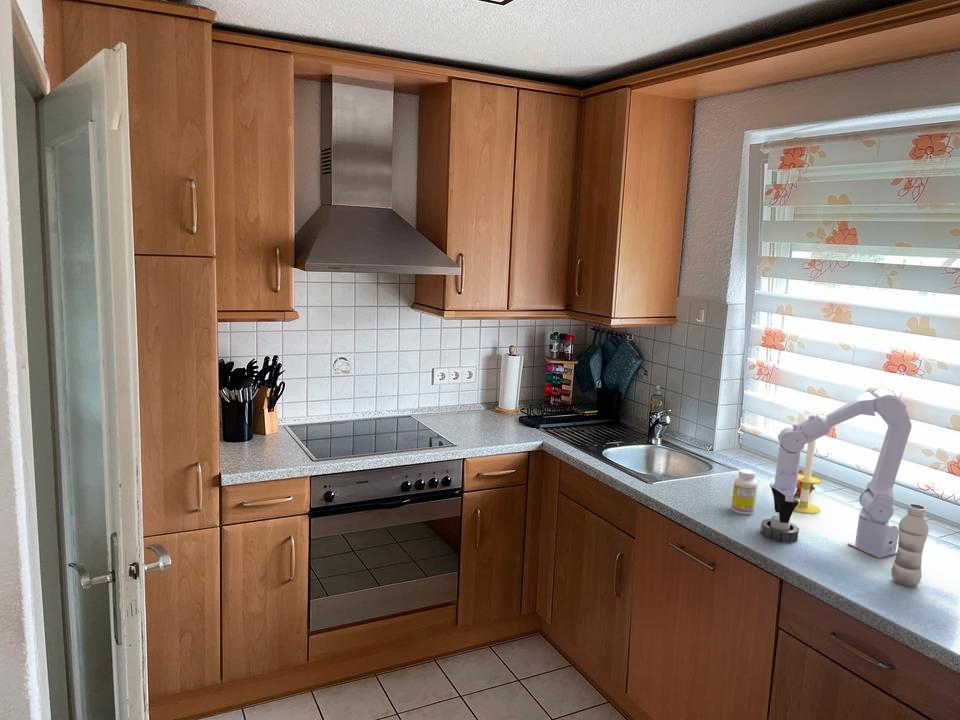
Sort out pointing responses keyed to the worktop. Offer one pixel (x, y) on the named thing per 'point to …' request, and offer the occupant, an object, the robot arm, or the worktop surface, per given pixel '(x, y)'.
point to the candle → (807, 483)
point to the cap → (779, 524)
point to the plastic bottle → (910, 547)
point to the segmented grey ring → (779, 532)
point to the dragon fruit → (799, 486)
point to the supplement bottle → (744, 492)
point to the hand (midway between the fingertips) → (781, 517)
